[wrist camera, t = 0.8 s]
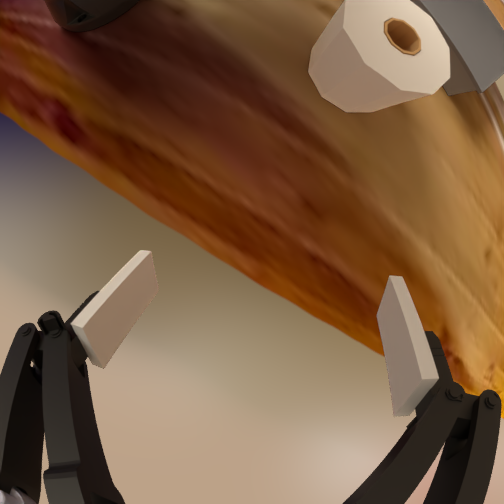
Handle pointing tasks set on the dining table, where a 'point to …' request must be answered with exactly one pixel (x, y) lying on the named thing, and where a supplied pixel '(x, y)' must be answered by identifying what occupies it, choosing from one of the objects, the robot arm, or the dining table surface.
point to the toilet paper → (378, 55)
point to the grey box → (468, 42)
